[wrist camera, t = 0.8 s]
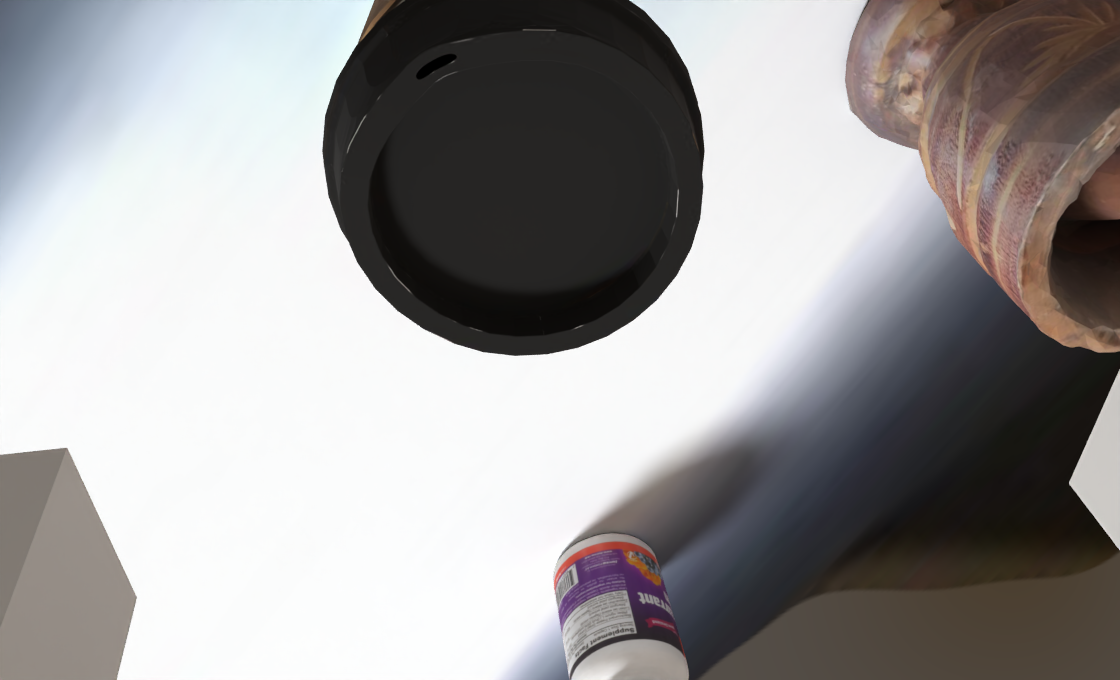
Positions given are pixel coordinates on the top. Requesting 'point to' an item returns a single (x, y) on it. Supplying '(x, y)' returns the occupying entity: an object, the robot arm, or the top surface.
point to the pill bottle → (616, 612)
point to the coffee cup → (515, 167)
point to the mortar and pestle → (1011, 140)
